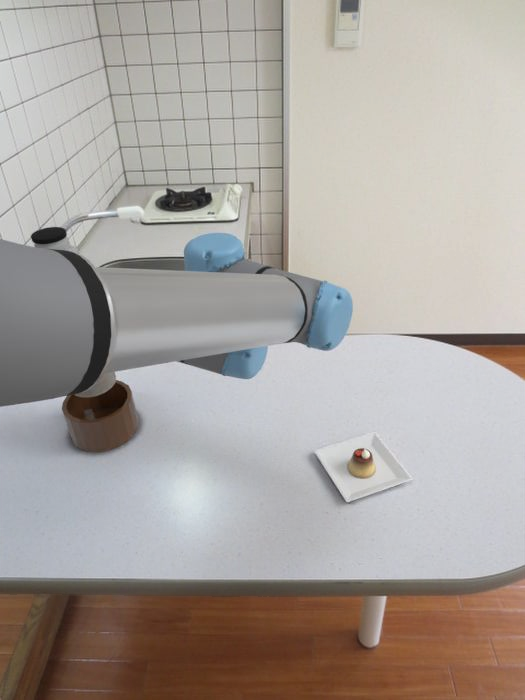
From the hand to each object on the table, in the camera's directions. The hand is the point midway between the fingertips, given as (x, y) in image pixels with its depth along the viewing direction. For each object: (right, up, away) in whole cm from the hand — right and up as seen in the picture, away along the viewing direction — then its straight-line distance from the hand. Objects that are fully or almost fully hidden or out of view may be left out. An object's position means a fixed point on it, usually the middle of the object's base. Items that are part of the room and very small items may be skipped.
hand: (49, 303), depth 85 cm
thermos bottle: (+5, -14, +7) cm, 16 cm away
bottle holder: (+5, -22, +13) cm, 26 cm away
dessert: (+51, -28, +2) cm, 58 cm away
